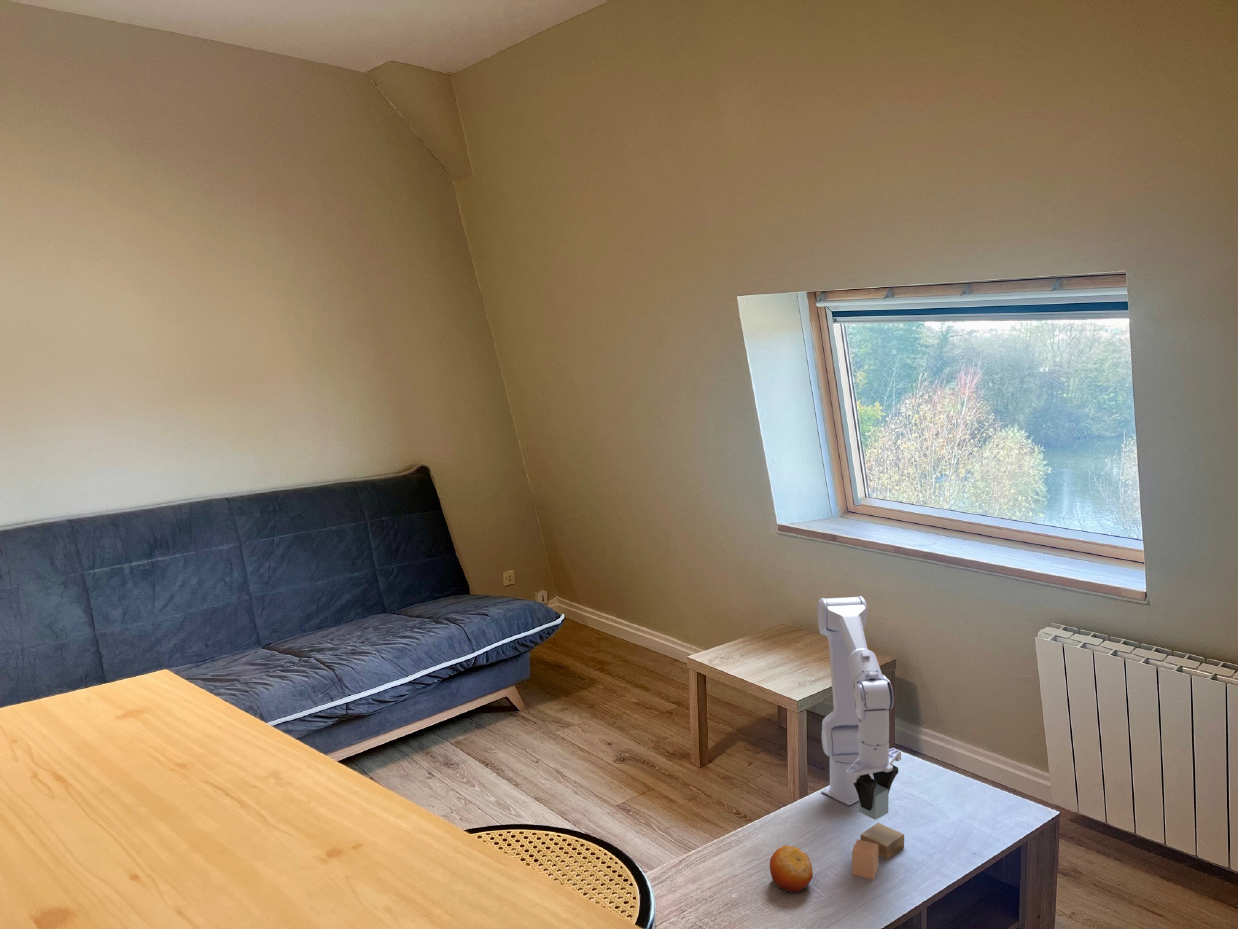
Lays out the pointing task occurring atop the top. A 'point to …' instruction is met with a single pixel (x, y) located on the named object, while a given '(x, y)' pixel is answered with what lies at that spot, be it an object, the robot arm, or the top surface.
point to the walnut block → (884, 839)
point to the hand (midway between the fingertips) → (873, 804)
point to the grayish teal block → (877, 803)
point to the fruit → (790, 869)
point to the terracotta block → (865, 859)
